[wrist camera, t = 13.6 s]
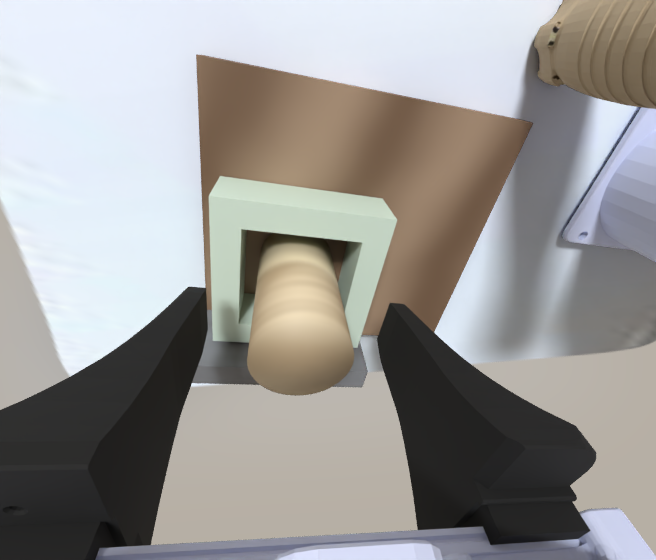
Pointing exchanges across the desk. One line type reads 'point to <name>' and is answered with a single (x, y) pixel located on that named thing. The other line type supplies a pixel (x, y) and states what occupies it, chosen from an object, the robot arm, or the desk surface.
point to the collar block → (294, 219)
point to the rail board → (354, 180)
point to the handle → (602, 50)
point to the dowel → (298, 318)
